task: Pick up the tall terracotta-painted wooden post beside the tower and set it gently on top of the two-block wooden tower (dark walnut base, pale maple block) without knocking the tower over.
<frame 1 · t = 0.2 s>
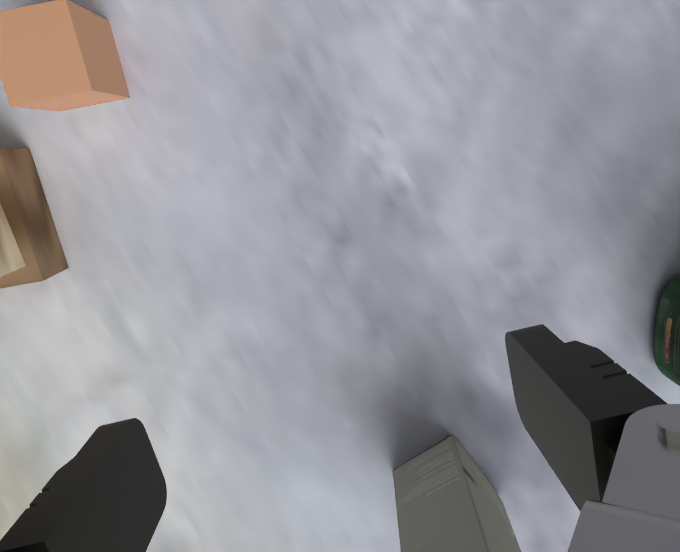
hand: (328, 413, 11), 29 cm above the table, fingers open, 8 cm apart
skincare box: (441, 483, 45), on the table
terracotta post: (84, 67, 36), on the table
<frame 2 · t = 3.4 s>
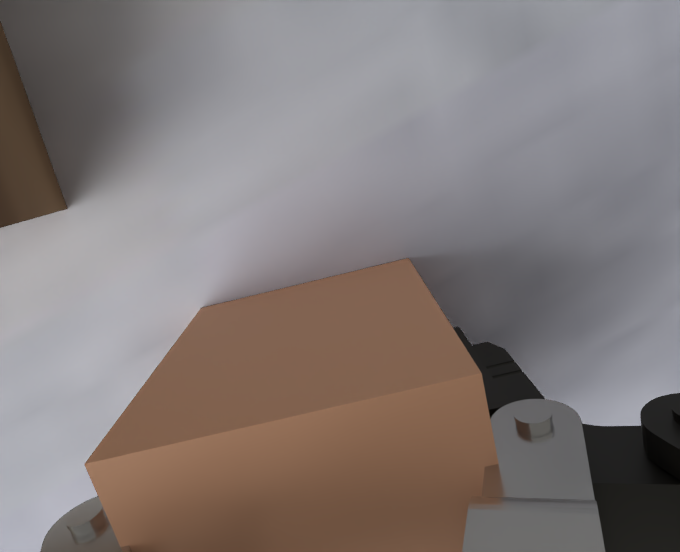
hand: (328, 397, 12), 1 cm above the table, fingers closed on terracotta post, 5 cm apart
terracotta post: (329, 377, 13), on the table, touching gripper
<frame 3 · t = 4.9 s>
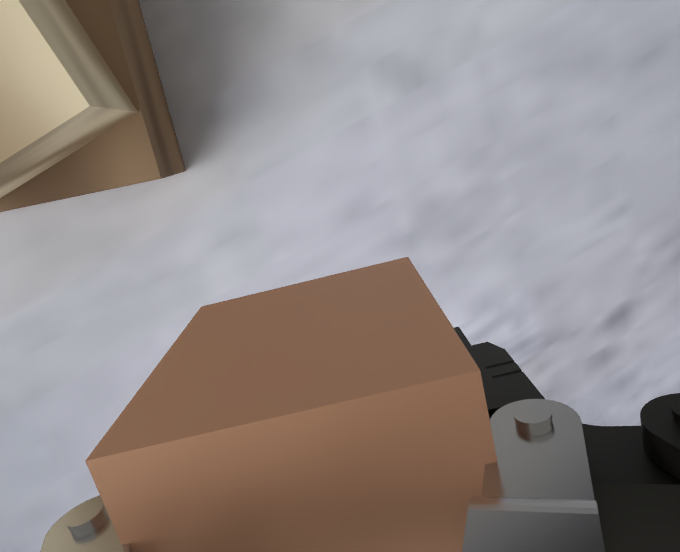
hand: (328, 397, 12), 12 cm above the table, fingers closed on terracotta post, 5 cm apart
tower base: (52, 84, 21), on the table, touching tower middle
terracotta post: (329, 376, 13), point 11 cm above the table, touching gripper
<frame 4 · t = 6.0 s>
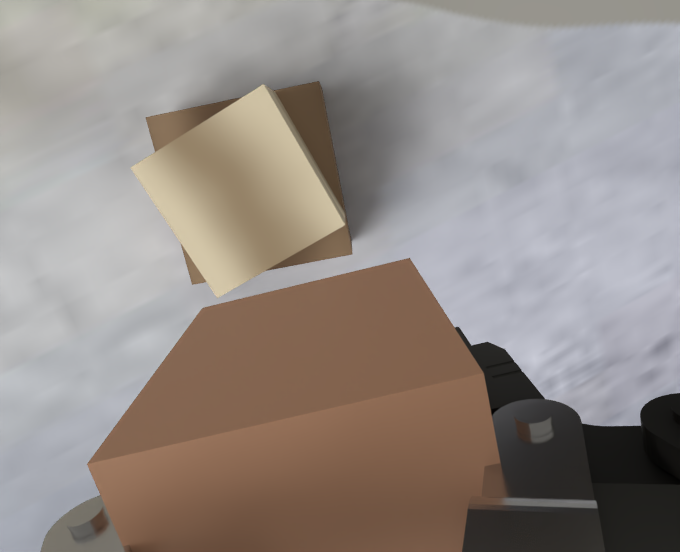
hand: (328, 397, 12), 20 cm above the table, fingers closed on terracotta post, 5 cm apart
tower base: (263, 182, 31), on the table, touching tower middle
terracotta post: (331, 377, 13), point 19 cm above the table, touching gripper
tower middle: (254, 188, 27), point 4 cm above the table, touching tower base
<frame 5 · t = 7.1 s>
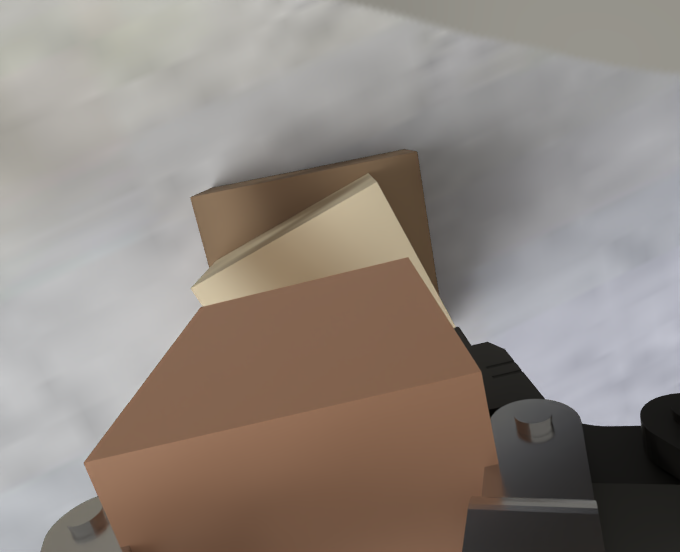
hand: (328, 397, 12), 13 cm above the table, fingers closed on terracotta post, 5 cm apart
tower base: (326, 261, 25), on the table, touching tower middle
terracotta post: (329, 377, 13), point 12 cm above the table, touching gripper
tower middle: (334, 290, 21), point 4 cm above the table, touching tower base
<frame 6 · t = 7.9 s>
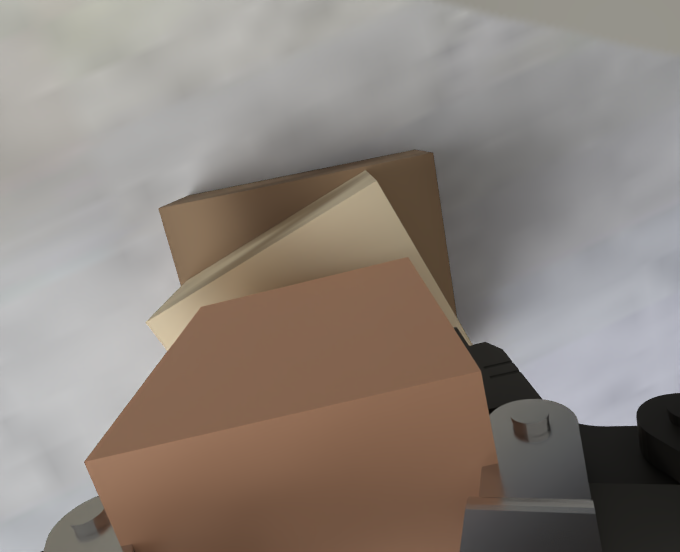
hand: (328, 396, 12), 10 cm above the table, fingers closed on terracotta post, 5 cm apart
tower base: (324, 279, 22), on the table
terracotta post: (329, 376, 13), point 9 cm above the table, touching gripper
tower middle: (329, 312, 18), point 4 cm above the table
when the fingers open (10 cm above the table, at t = 8.3 s): terracotta post drops 1 cm, point 8 cm above the table.
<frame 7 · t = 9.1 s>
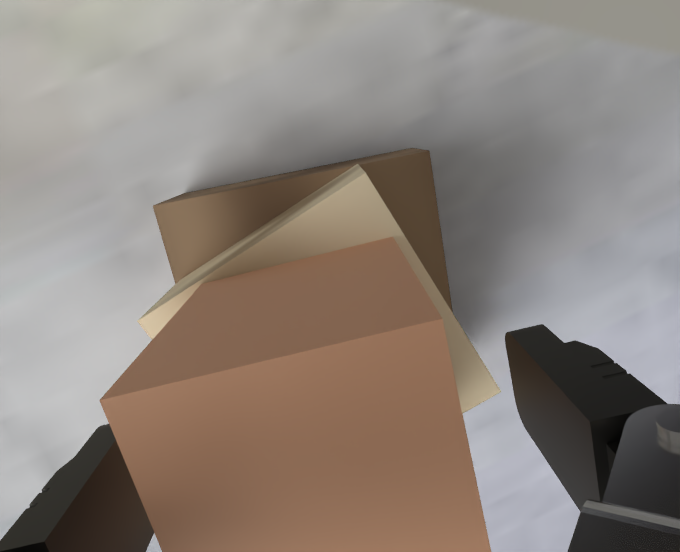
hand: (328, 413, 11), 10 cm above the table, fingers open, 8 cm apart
tower base: (320, 278, 21), on the table, touching tower middle
terracotta post: (321, 349, 14), point 8 cm above the table
tower middle: (325, 308, 18), point 4 cm above the table, touching tower base
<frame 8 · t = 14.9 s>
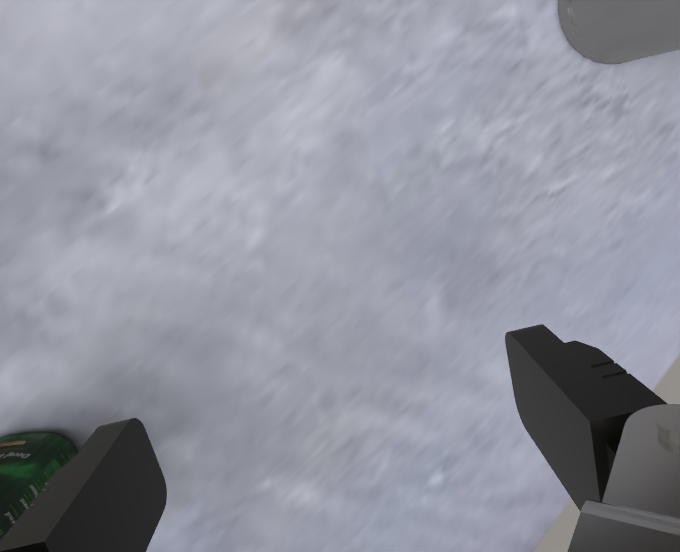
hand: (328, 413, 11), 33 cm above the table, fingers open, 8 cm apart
coffee jar: (36, 463, 49), on the table
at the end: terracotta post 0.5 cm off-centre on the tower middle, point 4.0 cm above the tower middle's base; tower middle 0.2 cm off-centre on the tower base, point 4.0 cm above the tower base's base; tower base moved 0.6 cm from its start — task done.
